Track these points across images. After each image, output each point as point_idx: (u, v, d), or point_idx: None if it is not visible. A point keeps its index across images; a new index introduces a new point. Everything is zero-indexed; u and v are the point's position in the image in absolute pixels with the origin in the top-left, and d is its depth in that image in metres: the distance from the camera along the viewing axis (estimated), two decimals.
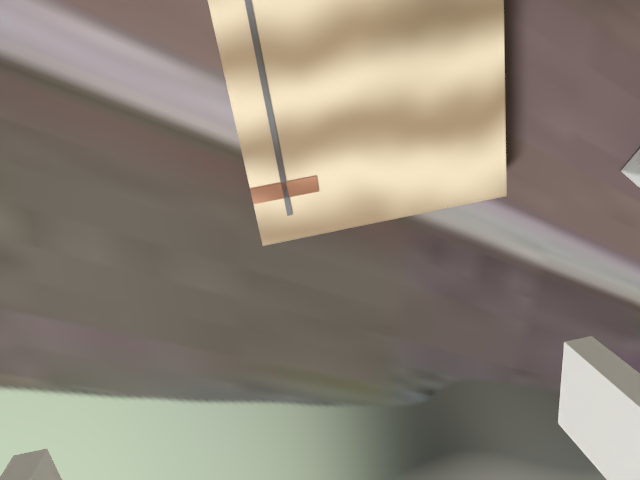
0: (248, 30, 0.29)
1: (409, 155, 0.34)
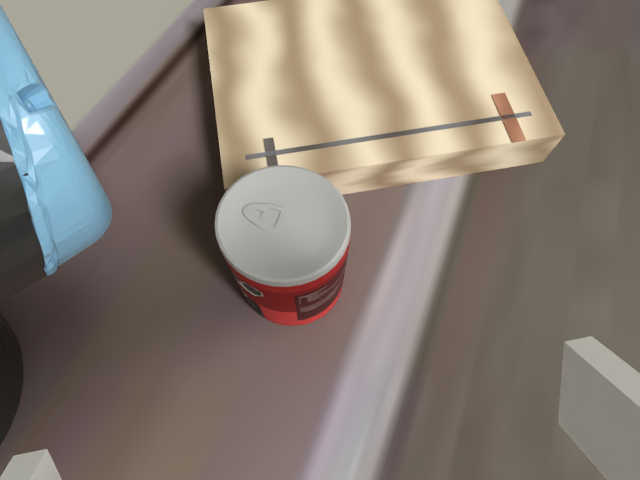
0: (380, 140, 0.36)
1: (463, 34, 0.41)
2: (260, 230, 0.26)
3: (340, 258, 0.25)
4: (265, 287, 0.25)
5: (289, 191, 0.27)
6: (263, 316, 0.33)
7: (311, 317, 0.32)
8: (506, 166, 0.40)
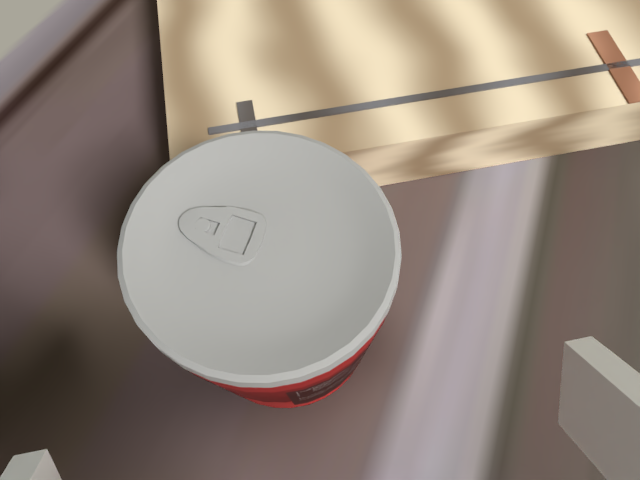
0: (422, 103, 0.23)
1: None
2: (214, 262, 0.12)
3: (382, 320, 0.12)
4: (224, 384, 0.12)
5: (274, 181, 0.13)
6: None
7: (318, 398, 0.19)
8: (604, 144, 0.27)
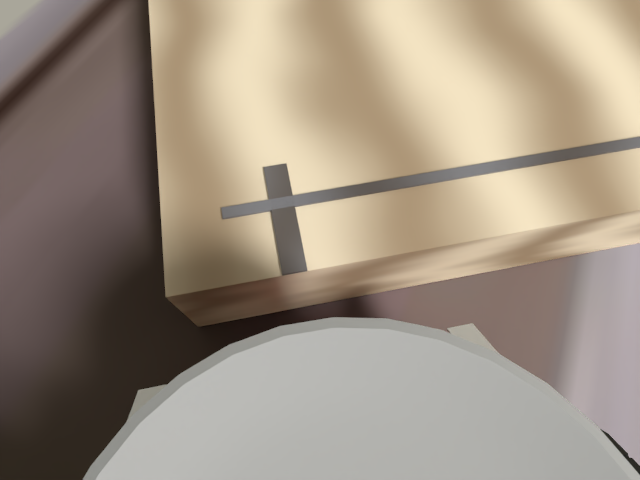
0: (539, 168, 0.15)
1: None
2: None
3: None
4: None
5: (386, 442, 0.06)
6: None
7: None
8: None
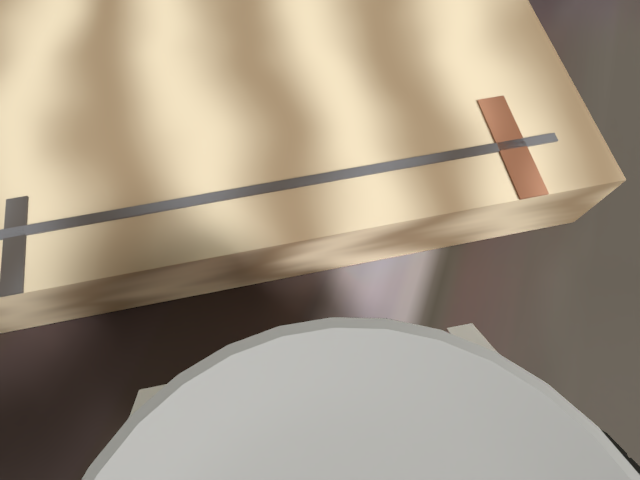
0: (251, 199, 0.18)
1: None
2: None
3: None
4: None
5: (385, 443, 0.06)
6: None
7: None
8: (507, 233, 0.21)
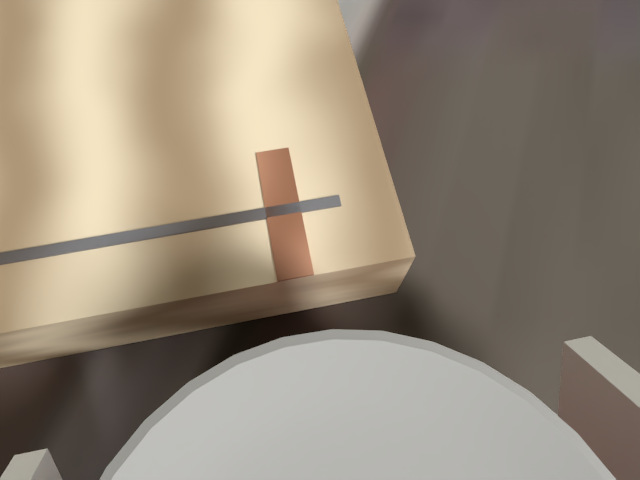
0: None
1: (229, 16, 0.19)
2: None
3: None
4: None
5: (381, 446, 0.06)
6: None
7: None
8: (312, 307, 0.18)
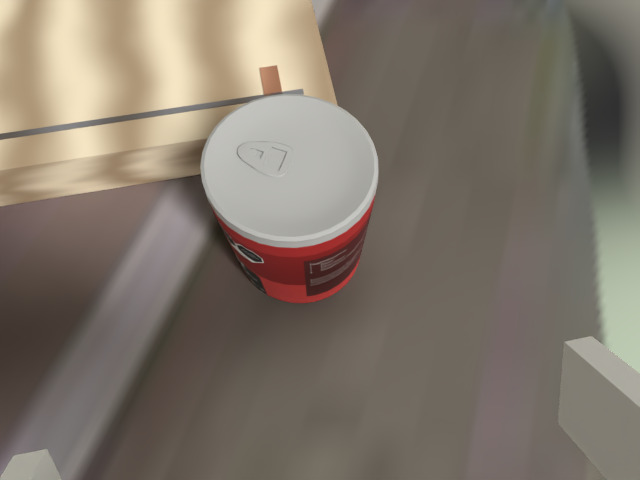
0: (104, 126, 0.29)
1: None
2: (260, 175, 0.20)
3: (365, 211, 0.19)
4: (266, 248, 0.19)
5: (298, 126, 0.21)
6: (264, 291, 0.27)
7: (323, 292, 0.26)
8: None
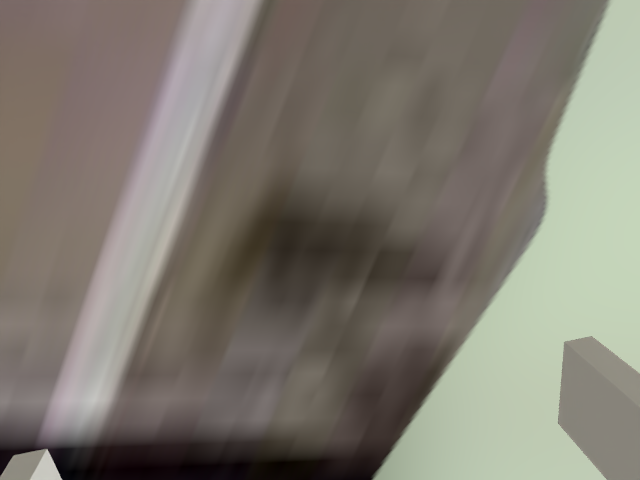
0: None
1: None
2: None
3: None
4: None
5: None
6: None
7: None
8: None
